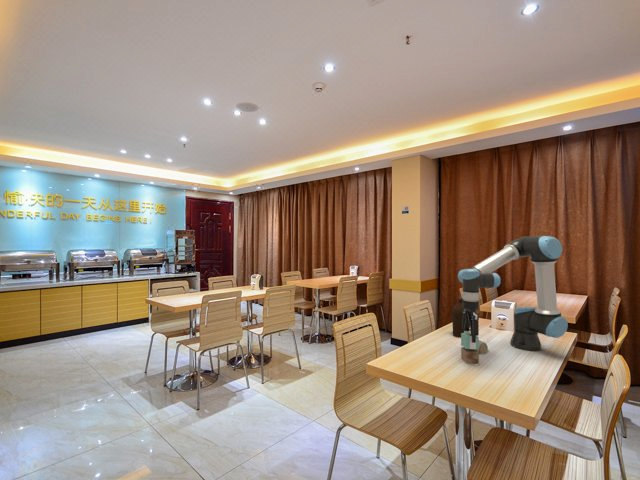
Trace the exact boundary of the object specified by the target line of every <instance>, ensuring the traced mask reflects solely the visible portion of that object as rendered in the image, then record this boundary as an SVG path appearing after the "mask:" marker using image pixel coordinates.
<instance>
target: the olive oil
mask: <svg viewBox="0 0 640 480" xmlns="http://www.w3.org/2000/svg"><path fill="white" fill-rule="evenodd" d="M457 300H458V301H457V303H456V304H455V305H454V306H453V307H452V311H451V320H452V336H454V337H456V338H458V339H459V338H460V339H461V333H464V330H463V329H464V328H462V317H463V312H462V310H463V309H465V308H463V307H462V300H464V299H463V298H462V296H458V299H457Z"/></svg>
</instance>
